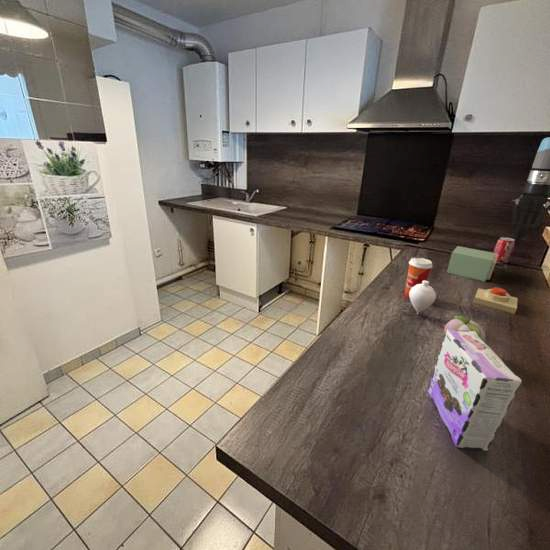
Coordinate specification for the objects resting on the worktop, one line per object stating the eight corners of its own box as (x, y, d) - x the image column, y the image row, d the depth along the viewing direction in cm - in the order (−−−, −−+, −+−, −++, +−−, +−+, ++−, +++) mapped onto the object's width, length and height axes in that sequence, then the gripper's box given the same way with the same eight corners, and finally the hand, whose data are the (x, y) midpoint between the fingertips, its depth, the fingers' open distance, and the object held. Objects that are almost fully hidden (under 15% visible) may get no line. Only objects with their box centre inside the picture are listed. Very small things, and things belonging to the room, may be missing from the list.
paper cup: (398, 291, 111) (406, 256, 105) (418, 291, 111) (427, 257, 105) (406, 300, 104) (415, 264, 98) (427, 301, 104) (437, 265, 98)
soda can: (510, 262, 145) (518, 239, 140) (504, 265, 141) (513, 241, 137) (494, 258, 150) (502, 236, 146) (488, 260, 147) (496, 237, 142)
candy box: (425, 390, 65) (445, 327, 58) (453, 392, 64) (476, 330, 58) (455, 448, 52) (484, 376, 45) (489, 452, 52) (524, 380, 45)
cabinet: (488, 273, 131) (495, 253, 127) (485, 281, 122) (492, 260, 118) (451, 265, 139) (457, 246, 136) (446, 272, 130) (452, 252, 127)
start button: (505, 294, 103) (506, 289, 103) (504, 297, 100) (506, 293, 100) (491, 290, 106) (493, 286, 105) (490, 294, 103) (492, 289, 102)
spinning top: (431, 323, 91) (441, 288, 86) (405, 317, 93) (413, 283, 88) (428, 311, 97) (437, 278, 93) (404, 306, 100) (411, 274, 95)
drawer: (503, 275, 127) (509, 258, 124) (501, 283, 119) (508, 265, 116) (457, 264, 137) (462, 249, 134) (453, 271, 129) (458, 255, 126)
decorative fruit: (487, 358, 76) (500, 325, 72) (462, 363, 73) (474, 330, 69) (456, 337, 84) (467, 307, 80) (434, 341, 82) (443, 310, 78)
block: (515, 303, 105) (519, 293, 103) (514, 314, 97) (519, 303, 96) (476, 293, 112) (479, 283, 110) (473, 302, 104) (476, 292, 103)
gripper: (516, 182, 108) (495, 242, 118) (563, 185, 101) (537, 250, 110) (517, 181, 114) (497, 239, 123) (562, 184, 106) (536, 245, 116)
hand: (516, 244), depth 117 cm, fingers closed
